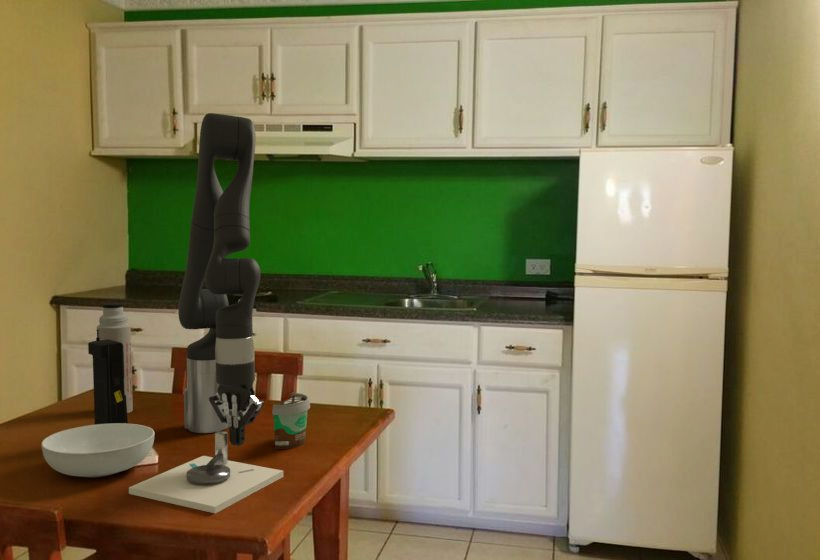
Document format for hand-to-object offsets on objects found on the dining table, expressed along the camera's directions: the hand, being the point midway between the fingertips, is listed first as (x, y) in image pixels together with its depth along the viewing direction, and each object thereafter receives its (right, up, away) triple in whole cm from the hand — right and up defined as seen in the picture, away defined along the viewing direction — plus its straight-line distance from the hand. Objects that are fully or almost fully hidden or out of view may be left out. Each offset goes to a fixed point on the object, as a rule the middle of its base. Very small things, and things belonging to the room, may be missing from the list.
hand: (237, 444), depth 150 cm
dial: (-3, -4, -5) cm, 8 cm away
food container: (+9, -4, +18) cm, 21 cm away
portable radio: (-32, -4, +18) cm, 37 cm away
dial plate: (-4, -6, -8) cm, 11 cm away
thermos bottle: (-41, -1, +43) cm, 60 cm away
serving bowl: (-27, -5, 0) cm, 28 cm away
